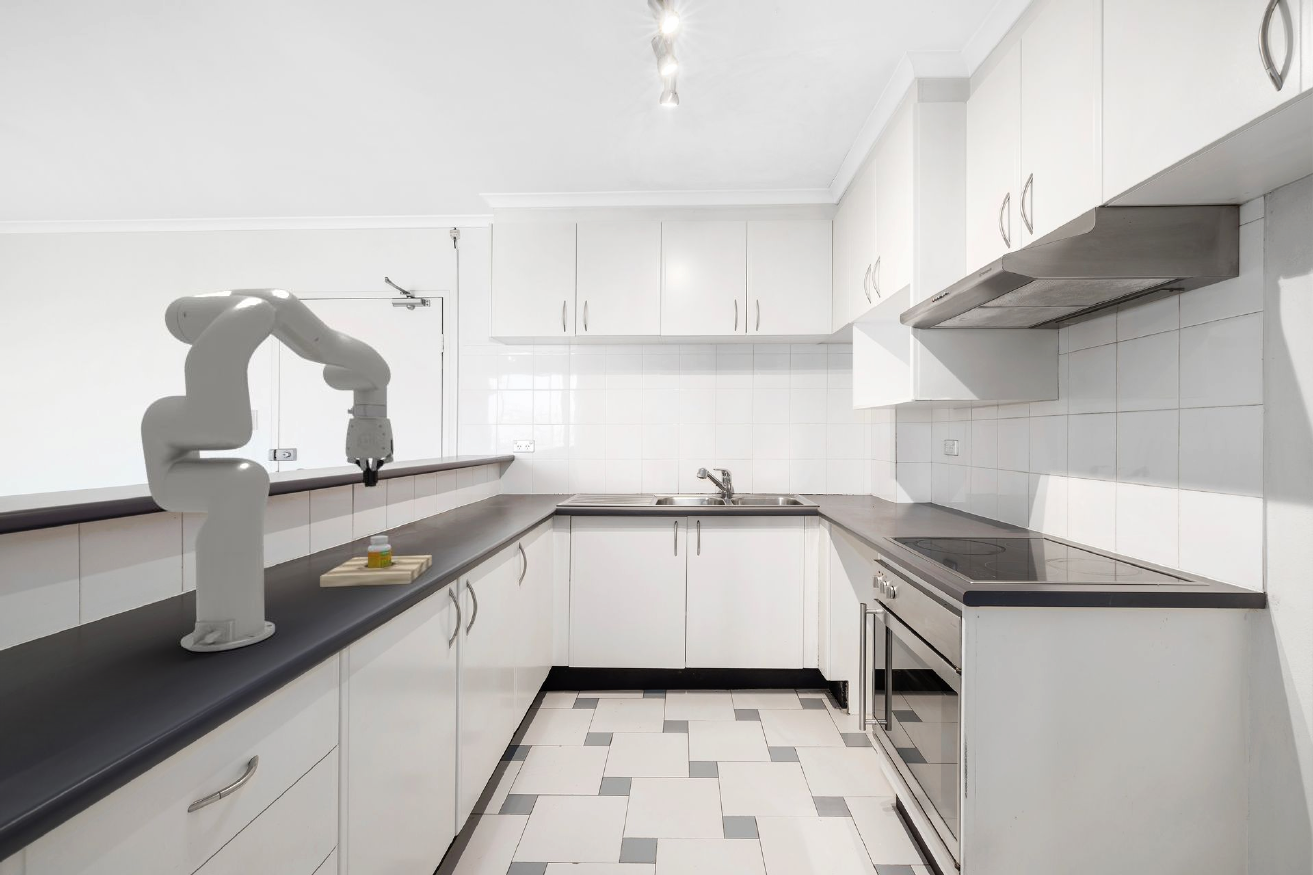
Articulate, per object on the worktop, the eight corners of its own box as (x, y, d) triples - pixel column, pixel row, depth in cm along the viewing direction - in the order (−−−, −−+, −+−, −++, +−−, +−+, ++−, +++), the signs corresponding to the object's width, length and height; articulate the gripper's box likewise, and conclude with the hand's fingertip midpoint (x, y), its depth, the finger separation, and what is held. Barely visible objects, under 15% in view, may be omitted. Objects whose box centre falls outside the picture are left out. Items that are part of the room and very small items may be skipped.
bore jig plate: (409, 583, 136) (409, 573, 136) (320, 586, 133) (320, 576, 133) (431, 564, 156) (431, 555, 156) (354, 566, 153) (354, 557, 153)
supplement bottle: (382, 578, 141) (381, 538, 141) (362, 577, 142) (362, 538, 142) (396, 572, 147) (395, 535, 146) (377, 572, 148) (377, 534, 148)
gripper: (332, 412, 138) (332, 488, 138) (396, 412, 140) (396, 487, 140) (345, 413, 146) (345, 485, 146) (406, 413, 147) (406, 484, 147)
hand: (370, 486), depth 143 cm, fingers closed
